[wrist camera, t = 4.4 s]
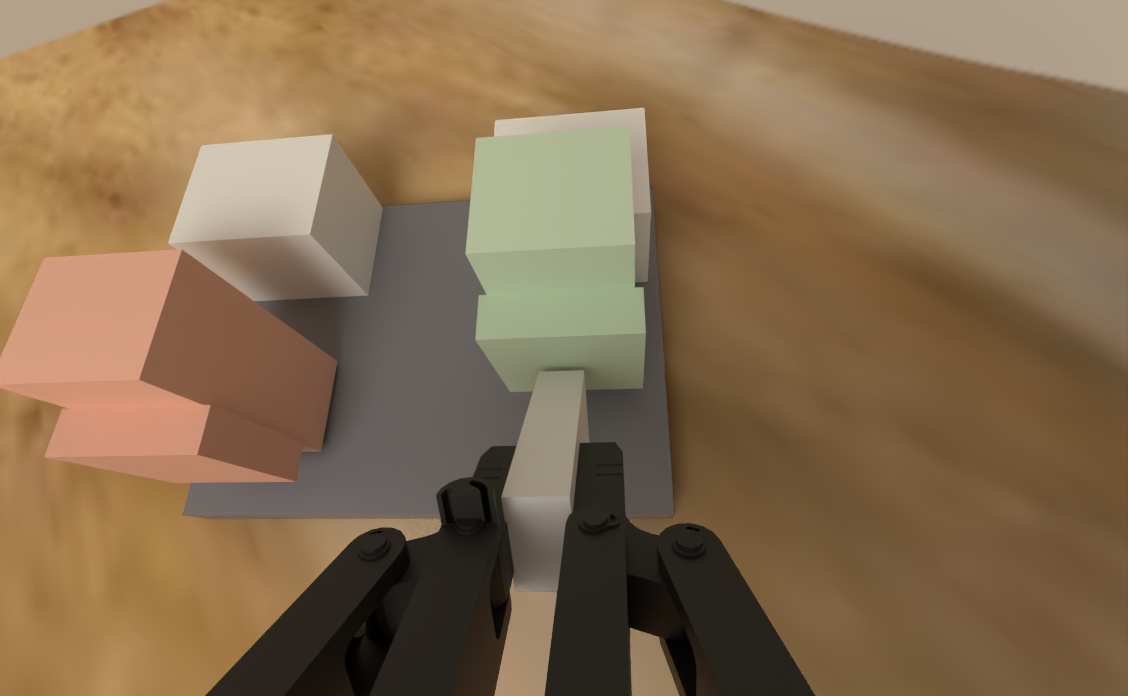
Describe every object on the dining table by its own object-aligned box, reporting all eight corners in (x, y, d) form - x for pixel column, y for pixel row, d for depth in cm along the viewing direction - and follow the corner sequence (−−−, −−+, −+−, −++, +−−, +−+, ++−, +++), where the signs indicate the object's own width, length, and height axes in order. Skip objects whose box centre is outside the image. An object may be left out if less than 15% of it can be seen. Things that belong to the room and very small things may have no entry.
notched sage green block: (636, 281, 24) (638, 124, 15) (642, 401, 22) (647, 295, 13) (524, 286, 24) (468, 138, 16) (519, 404, 22) (451, 304, 14)
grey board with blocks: (651, 207, 27) (657, 104, 21) (671, 518, 21) (686, 496, 16) (281, 231, 29) (191, 144, 24) (208, 518, 24) (66, 500, 18)
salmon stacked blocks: (342, 361, 24) (189, 248, 16) (320, 488, 22) (129, 436, 14) (238, 365, 24) (36, 258, 16) (205, 489, 22) (-45, 439, 14)
